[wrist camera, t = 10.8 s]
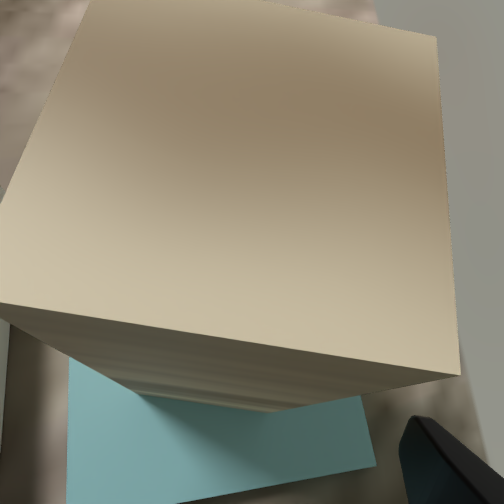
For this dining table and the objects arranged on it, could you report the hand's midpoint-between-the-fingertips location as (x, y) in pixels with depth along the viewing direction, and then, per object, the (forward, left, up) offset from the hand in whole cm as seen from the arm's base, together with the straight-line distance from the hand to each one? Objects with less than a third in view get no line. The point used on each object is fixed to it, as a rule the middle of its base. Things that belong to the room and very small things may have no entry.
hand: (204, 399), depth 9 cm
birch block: (+3, -1, -7) cm, 8 cm away
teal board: (+3, -1, -8) cm, 8 cm away
